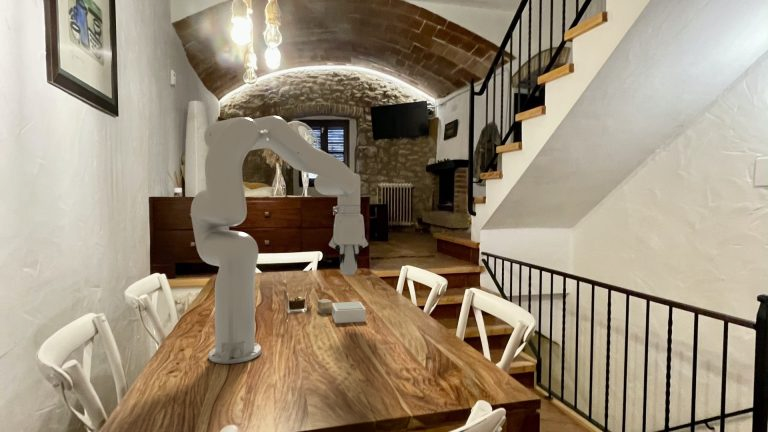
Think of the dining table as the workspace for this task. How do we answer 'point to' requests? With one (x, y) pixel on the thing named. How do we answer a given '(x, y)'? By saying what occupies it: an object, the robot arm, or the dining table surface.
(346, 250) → the salt shaker
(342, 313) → the base block
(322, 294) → the dining table surface
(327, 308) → the tan block
